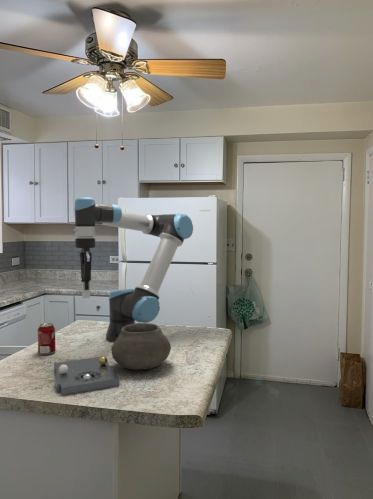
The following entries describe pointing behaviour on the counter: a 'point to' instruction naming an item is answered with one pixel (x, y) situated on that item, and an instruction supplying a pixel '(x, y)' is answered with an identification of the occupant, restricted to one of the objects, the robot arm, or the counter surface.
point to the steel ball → (87, 376)
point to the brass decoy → (103, 360)
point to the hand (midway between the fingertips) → (86, 297)
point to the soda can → (46, 339)
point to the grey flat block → (77, 369)
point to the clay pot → (140, 346)
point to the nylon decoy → (63, 369)
